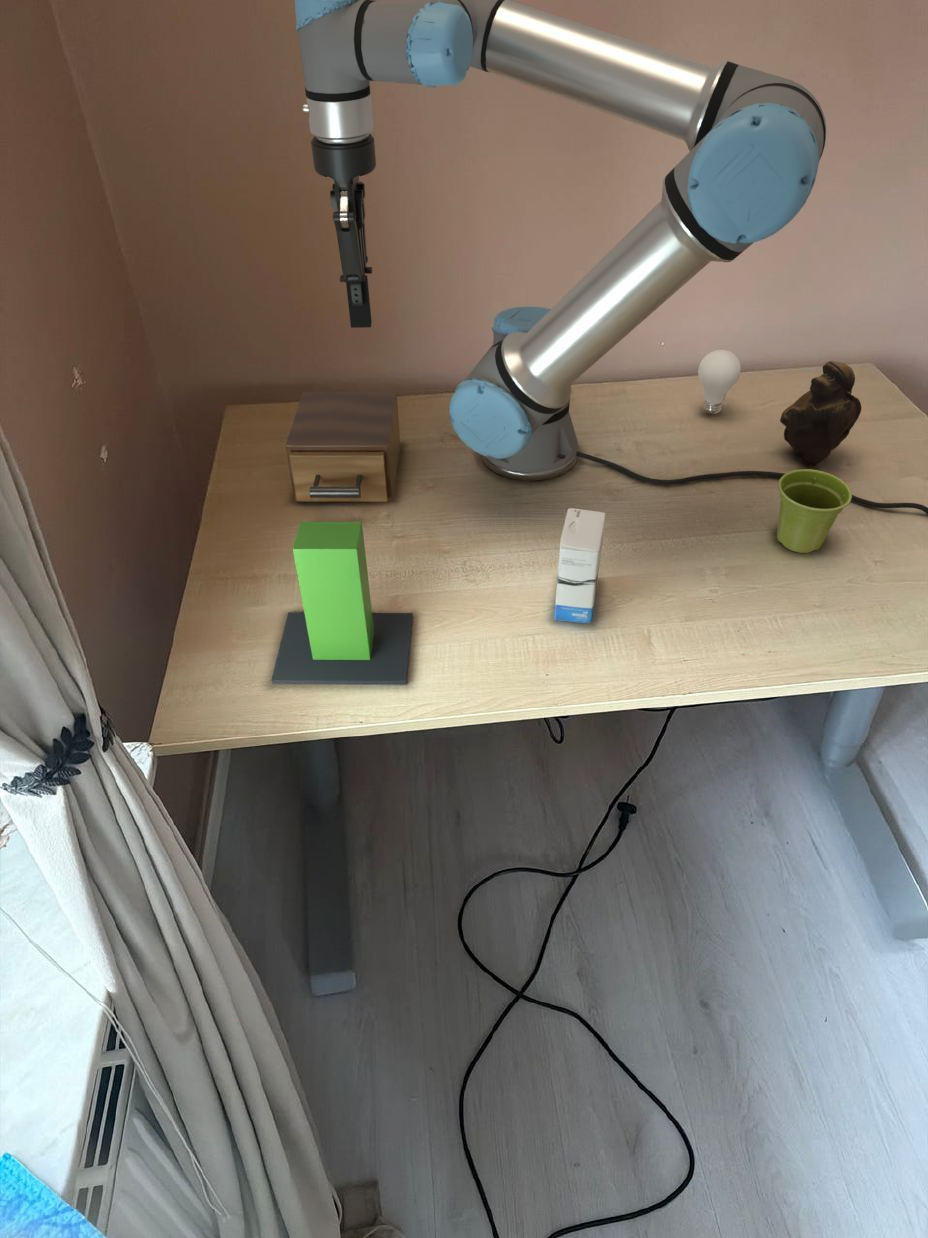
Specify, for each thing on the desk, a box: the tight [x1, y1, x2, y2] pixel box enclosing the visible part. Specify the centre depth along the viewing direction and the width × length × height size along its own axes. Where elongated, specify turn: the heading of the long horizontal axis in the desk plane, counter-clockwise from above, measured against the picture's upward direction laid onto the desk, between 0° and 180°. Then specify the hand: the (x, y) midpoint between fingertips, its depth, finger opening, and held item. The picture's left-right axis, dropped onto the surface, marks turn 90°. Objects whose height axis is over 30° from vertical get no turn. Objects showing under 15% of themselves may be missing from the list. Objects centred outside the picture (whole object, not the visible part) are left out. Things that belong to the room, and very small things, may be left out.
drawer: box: [289, 451, 388, 502], centre depth 133 cm, size 19×13×8 cm
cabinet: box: [285, 391, 401, 503], centre depth 136 cm, size 16×15×10 cm
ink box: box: [553, 507, 606, 625], centre depth 112 cm, size 8×5×12 cm, turn 168°
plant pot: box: [776, 468, 853, 554], centre depth 122 cm, size 9×9×9 cm
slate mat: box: [270, 611, 414, 686], centre depth 110 cm, size 16×12×1 cm
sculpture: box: [779, 360, 862, 467], centre depth 135 cm, size 11×11×15 cm
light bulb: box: [697, 349, 742, 415], centre depth 147 cm, size 7×7×11 cm
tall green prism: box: [292, 521, 374, 660], centre depth 104 cm, size 7×5×17 cm
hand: (361, 324), depth 122 cm, fingers closed
